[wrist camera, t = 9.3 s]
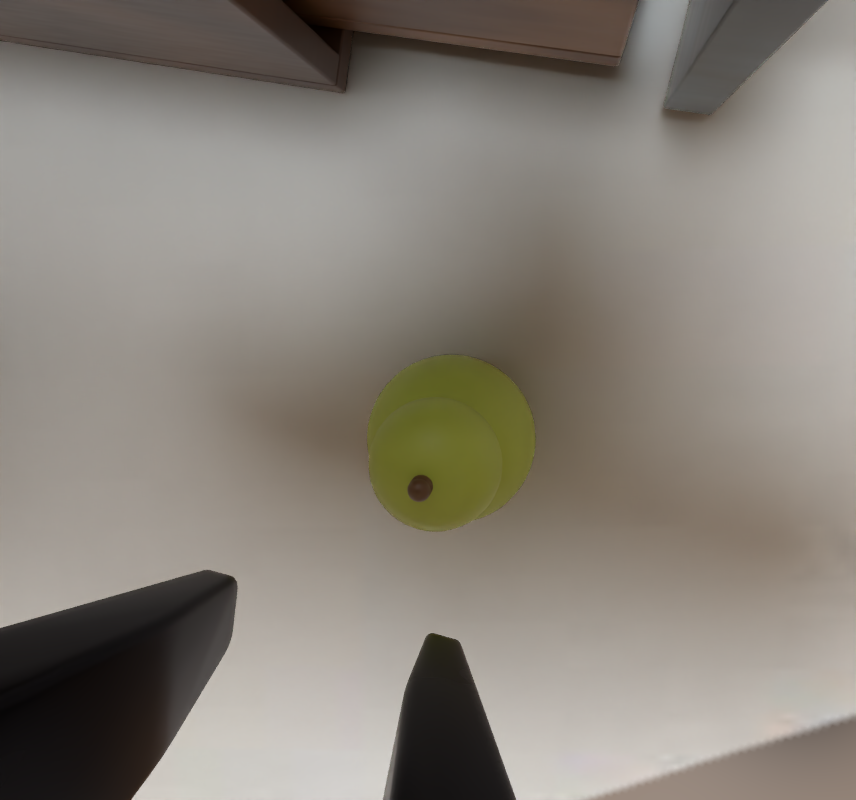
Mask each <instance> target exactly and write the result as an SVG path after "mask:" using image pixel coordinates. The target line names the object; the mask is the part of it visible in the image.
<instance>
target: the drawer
mask: <svg viewBox="0 0 856 800" xmlns="http://www.w3.org/2000/svg"><path fill="white" fill-rule="evenodd" d="M282 1H283V2H284V3H285V4H286V5H287V6H288V7H289V8H290V9H292V10H293V11H294V12H295V13H296V14H297V15H298V16H299V17H300V18H301V19H302V20H303V21H304V22H305V23H306V24H309V25H316V26H323V27H331V28H338V29H345V30H353V31H360V32H367V33H375V34H382V35H389V36H397V37H404V38H411V39H419V40H426V41H433V42H440V43H448V44H455V45H462V46H470V47H477V48H484V49H492V50H499V51H506V52H514V53H521V54H528V55H535V56H543V57H550V58H557V59H565V60H572V61H579V62H587V63H594V64H601V65H609V66H618V65H619V63H620V61H621V58H622V54H623V51H624V48H625V45H626V41H627V38H628V35H629V32H630V29H631V25H632V22H633V19H634V16H635V12H636V9H637V6H638V3H639V0H282ZM827 1H828V0H690V3H689V7H688V11H687V15H686V19H685V23H684V27H683V31H682V35H681V39H680V43H679V47H678V51H677V55H676V58H675V62H674V66H673V70H672V74H671V78H670V82H669V86H668V90H667V94H666V98H665V102H664V107H665V108H666V109H673V110H680V111H687V112H694V113H701V114H708V115H710V114H712V113H713V112H714V111H715V110H716V109H718V108H719V107H720V106H721V105H722V104H723V103H724V102H725V101H726V100H727V99H728V98H729V97H730V96H731V95H732V94H733V93H734V92H735V91H736V90H737V89H738V88H739V87H740V86H741V85H742V84H743V83H744V82H745V81H746V80H747V79H748V78H749V77H750V76H751V75H752V74H753V73H754V72H755V71H756V70H757V69H758V68H759V67H760V66H761V65H763V64H764V63H765V62H766V61H767V60H768V59H769V58H770V57H771V56H772V55H773V54H774V53H775V52H776V51H777V50H778V49H779V48H780V47H781V46H782V45H783V44H784V43H785V42H786V41H787V40H788V39H789V38H790V37H791V36H792V35H793V34H794V33H795V32H796V31H797V30H798V29H799V28H800V27H801V26H802V25H803V24H804V23H805V22H807V21H808V20H809V19H810V18H811V17H812V16H813V15H814V14H815V13H816V12H817V11H818V10H819V9H820V8H821V7H822V6H823V5H824V4H825V3H826V2H827Z"/></svg>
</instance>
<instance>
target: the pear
mask: <svg viewBox="0 0 856 800" xmlns="http://www.w3.org/2000/svg"><path fill="white" fill-rule="evenodd" d="M535 443H536V435H535V426H534V421H533V417H532V413H531V410H530V408H529V405H528V403H527V401H526V399H525V397H524V396H523V394H522V392H521V391H520V390H519V388H518V387H517V386H516V384H515V383H514V382H513V381H512V380H511V379H510V378H509V377H508V376H507V375H505V374H504V373H503V372H502V371H500V370H499V369H497V368H496V367H494V366H492V365H491V364H489V363H487V362H484V361H482V360H480V359H476V358H473V357H469V356H463V355H439V356H434V357H430V358H426V359H423V360H421V361H418V362H416V363H413V364H412V365H410V366H408V367H406V368H405V369H403V370H402V371H401V372H399V373H398V374H397V375H396V376H395V377H394V378H393V379H392V380H391V381H390V382H389V383H388V384H387V385H386V386H385V388H384V389H383V390H382V392H381V393H380V395H379V396H378V398H377V400H376V402H375V404H374V407H373V409H372V412H371V415H370V419H369V423H368V430H367V447H368V454H369V461H368V463H369V475H370V481H371V484H372V487H373V490H374V492H375V494H376V496H377V498H378V500H379V501H380V503H381V504H382V505H383V507H384V508H385V509H386V510H387V511H388V512H389V513H390V514H391V515H392V516H393V517H395V518H396V519H397V520H399V521H400V522H402V523H404V524H406V525H408V526H410V527H413V528H416V529H419V530H424V531H432V532H439V531H448V530H452V529H455V528H458V527H461V526H463V525H465V524H467V523H469V522H471V521H473V520H476V519H479V518H482V517H485V516H487V515H489V514H491V513H493V512H495V511H496V510H498V509H499V508H501V507H502V506H503V505H505V504H506V503H507V502H508V501H509V500H510V499H511V498H512V497H513V496H514V495H515V494H516V493H517V491H518V490H519V489H520V487H521V486H522V484H523V483H524V481H525V479H526V477H527V475H528V473H529V471H530V468H531V465H532V462H533V458H534V453H535Z"/></svg>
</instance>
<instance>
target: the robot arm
mask: <svg viewBox="0 0 856 800" xmlns="http://www.w3.org/2000/svg"><path fill="white" fill-rule="evenodd" d="M237 589H238V587H237V581H236V580H235V578H234V577H232V576H229V575H226V574H222V573H218V572H215V571H211V570H203V571H200V572H196V573H193V574H189V575H186V576H182V577H179V578H175V579H172V580H168V581H165V582H161V583H158V584H154V585H151V586H147V587H144V588H140V589H137V590H133V591H130V592H126V593H122V594H119V595H115V596H112V597H108V598H105V599H101V600H98V601H94V602H91V603H87V604H84V605H80V606H77V607H73V608H70V609H66V610H63V611H59V612H56V613H52V614H49V615H45V616H41V617H38V618H34V619H31V620H27V621H24V622H20V623H17V624H13V625H10V626H6V627H3V628H0V800H131V799H132V798H133V796H134V795H135V794H136V792H137V791H138V790H139V788H140V787H141V786H142V784H143V783H144V782H145V780H146V779H147V778H148V776H149V775H150V773H151V772H152V771H153V769H154V768H155V766H156V765H157V764H158V762H159V761H160V759H161V758H162V756H163V755H164V753H165V752H166V750H167V749H168V747H169V745H170V744H171V742H172V741H173V739H174V737H175V736H176V734H177V732H178V731H179V729H180V727H181V726H182V724H183V722H184V721H185V719H186V717H187V716H188V714H189V712H190V711H191V709H192V707H193V706H194V704H195V702H196V701H197V699H198V697H199V696H200V694H201V692H202V691H203V689H204V687H205V686H206V684H207V682H208V681H209V679H210V677H211V676H212V674H213V672H214V671H215V669H216V667H217V666H218V664H219V662H220V661H221V659H222V657H223V656H224V654H225V652H226V650H227V648H228V646H229V643H230V640H231V637H232V632H233V624H234V615H235V607H236V599H237ZM383 800H516V798H515V795H514V792H513V789H512V787H511V784H510V781H509V778H508V775H507V773H506V770H505V767H504V764H503V761H502V758H501V756H500V753H499V750H498V747H497V744H496V742H495V739H494V736H493V733H492V730H491V728H490V725H489V722H488V719H487V716H486V713H485V711H484V708H483V705H482V702H481V699H480V697H479V694H478V691H477V688H476V685H475V683H474V680H473V677H472V674H471V671H470V668H469V666H468V663H467V660H466V657H465V654H464V652H463V649H462V646H461V644H460V642H459V641H458V640H456V639H452V638H449V637H445V636H441V635H438V634H434V633H430V634H428V635H427V636H426V638H425V641H424V643H423V646H422V648H421V650H420V653H419V655H418V658H417V660H416V663H415V665H414V668H413V670H412V673H411V675H410V677H409V680H408V683H407V686H406V689H405V692H404V697H403V702H402V707H401V712H400V717H399V722H398V727H397V732H396V737H395V742H394V747H393V752H392V757H391V762H390V767H389V772H388V777H387V782H386V787H385V792H384V797H383Z"/></svg>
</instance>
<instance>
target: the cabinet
mask: <svg viewBox="0 0 856 800" xmlns="http://www.w3.org/2000/svg"><path fill="white" fill-rule="evenodd" d="M352 38H353V30H345V29H338V28H331V27H323V26H316V25H309V24H306V23H305V22H304V21H303V20H302V19H301V18H300V17H299V16H298V15H297V14H296V13H295V12H294V11H293V10H292V9H290V8H289V7H288V6H287V5H286V4H285V3H284V2H283V1H282V0H0V40H1V41H7V42H14V43H20V44H27V45H34V46H40V47H47V48H53V49H60V50H66V51H73V52H79V53H86V54H92V55H99V56H105V57H112V58H118V59H125V60H132V61H138V62H145V63H151V64H158V65H164V66H171V67H177V68H184V69H190V70H197V71H203V72H210V73H217V74H223V75H230V76H236V77H243V78H249V79H256V80H262V81H269V82H275V83H282V84H288V85H295V86H301V87H308V88H315V89H321V90H328V91H334V92H341V93H344V92H345V89H346V82H347V74H348V67H349V60H350V52H351V45H352Z"/></svg>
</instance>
